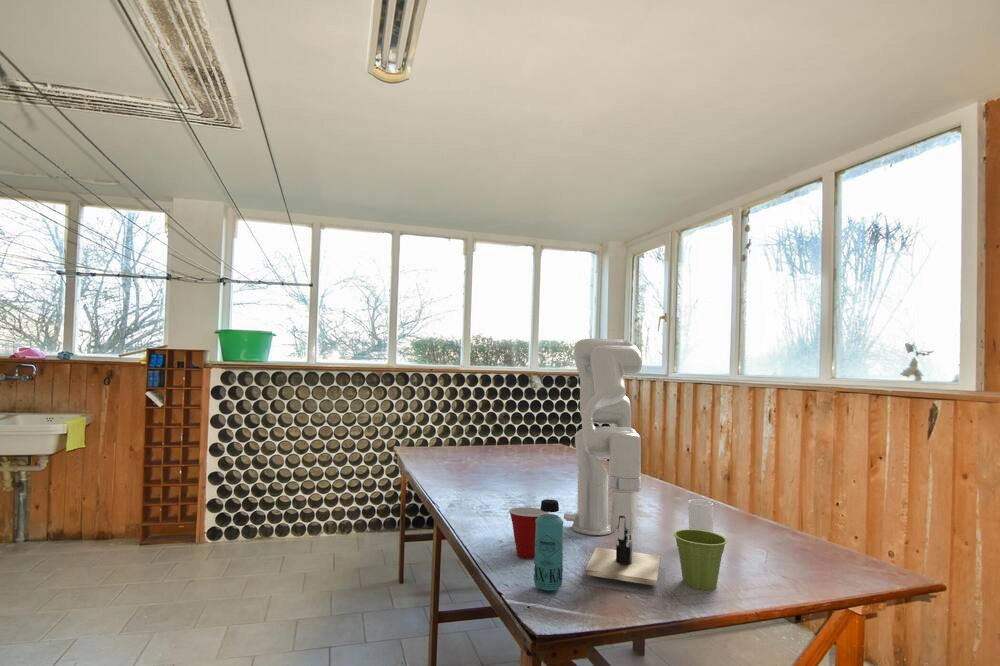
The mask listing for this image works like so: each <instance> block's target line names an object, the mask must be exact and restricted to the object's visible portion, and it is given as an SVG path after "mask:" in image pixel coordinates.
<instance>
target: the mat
mask: <svg viewBox="0 0 1000 666" xmlns="http://www.w3.org/2000/svg"><path fill="white" fill-rule="evenodd" d="M665 577H666V567H659V574H658V580H657V586H654V585H648V584H642V583H635V582H629V581H623V580H616V579H610V578H603V577H597V576H591V575H585V574H584V576H583V577H582V580H581V582H580V585H585V586H591V587H598V588H604V589H609V590H610V589H611V590H616V591H617V590H618V591H624V592H630V593H636V594H642V595H643V594H644V595H650V596H656V597H662V598H663V591H664V586H665V585H664V584H665Z"/></svg>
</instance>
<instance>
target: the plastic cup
mask: <svg viewBox="0 0 1000 666" xmlns="http://www.w3.org/2000/svg"><path fill="white" fill-rule="evenodd" d="M508 512H509V514H510V519H511V523H512V531H513V538H514V543H515V550H516V555H517V557H519V558H521V559H525V560H535V559H534V557H535V556H534V555H535V550H534V549H535V536H536V519H537V518H538V517H539V516H540V515H542V514H550V512H544V511H541V508H538V507H537V508H536V507H527V506H523V507H521V506H520V507H512V508H509V509H508Z"/></svg>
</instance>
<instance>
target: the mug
mask: <svg viewBox="0 0 1000 666" xmlns="http://www.w3.org/2000/svg"><path fill="white" fill-rule="evenodd" d="M687 506H688V507H687V508H688V529H694V530H703V531H708V532H713V533H714V503H713V502H712V501H710V500H705V499H688V505H687Z"/></svg>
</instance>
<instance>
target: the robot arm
mask: <svg viewBox="0 0 1000 666" xmlns="http://www.w3.org/2000/svg"><path fill="white" fill-rule="evenodd" d="M573 357H574V358H573V359H574V363H575V367H576V370H577V372H578V377H579V382H580V383H579V386H580V387H579V414H580V418H581V429H579V430H578V431H577V432H576V433H575V437H574V444H575V452H576V460H577V461H576V462H577V494H576V495H577V500H576V502H577V503H576V504H577V507H576V509H577V510H576V512H574V513H571V512H570V513H568V512H564V514H563V520H565V521H567V522H573V523H572V525H571V526H572V530H573V531H575V532H576V533H578V534H583V535H589V536H605V535H610V534H611V533H613V534H614V533H615V532H616V546H615V548H616V549H615V550H616V562H617V563H623V564H630V546H629V540H631V541H632V533H633V530H634V529H635V521H636V508H637V507H636V506H637V505H636V503H637V501H636V500H637V499H636V498H637V497H636V496H637V493H639V492H641V485H642V481H641V480H642V476H641V474H642V438H641V435H640V434H639V433H638V432H637V431H636V429H634V428H632V405H631V402H630V401H631V400H630V399H629V397H628V396H626V393H627V389H626V383H625V378H624V376H625V375H627V376H628V375H629V376H631V375H633V376H636V375H637V374H640V372H641V371H642V367H643V360H642V359H643V358H642V354H641V351H640V350H639V348H638V347H637V346H636V344H634V343H633V342H631V341H630V340H627V339H624V338H623V339H622V338H621V339H619V338H618V339H617V338H614V339H613V338H583V339H580V340H578V341H577V342H576V343H575V344H574V349H573ZM595 424H612V425H614V426H595ZM602 459H603V460H604V459H608V461H609V463H608V464H609V465H608V467H609V468H608V469H609V470H607V467H606V466H604V464H603V463H602V462H601V460H602ZM609 490H611V491H612V497H611V509H610V510H611V513H610V515H611V516H610V523H609Z"/></svg>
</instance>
